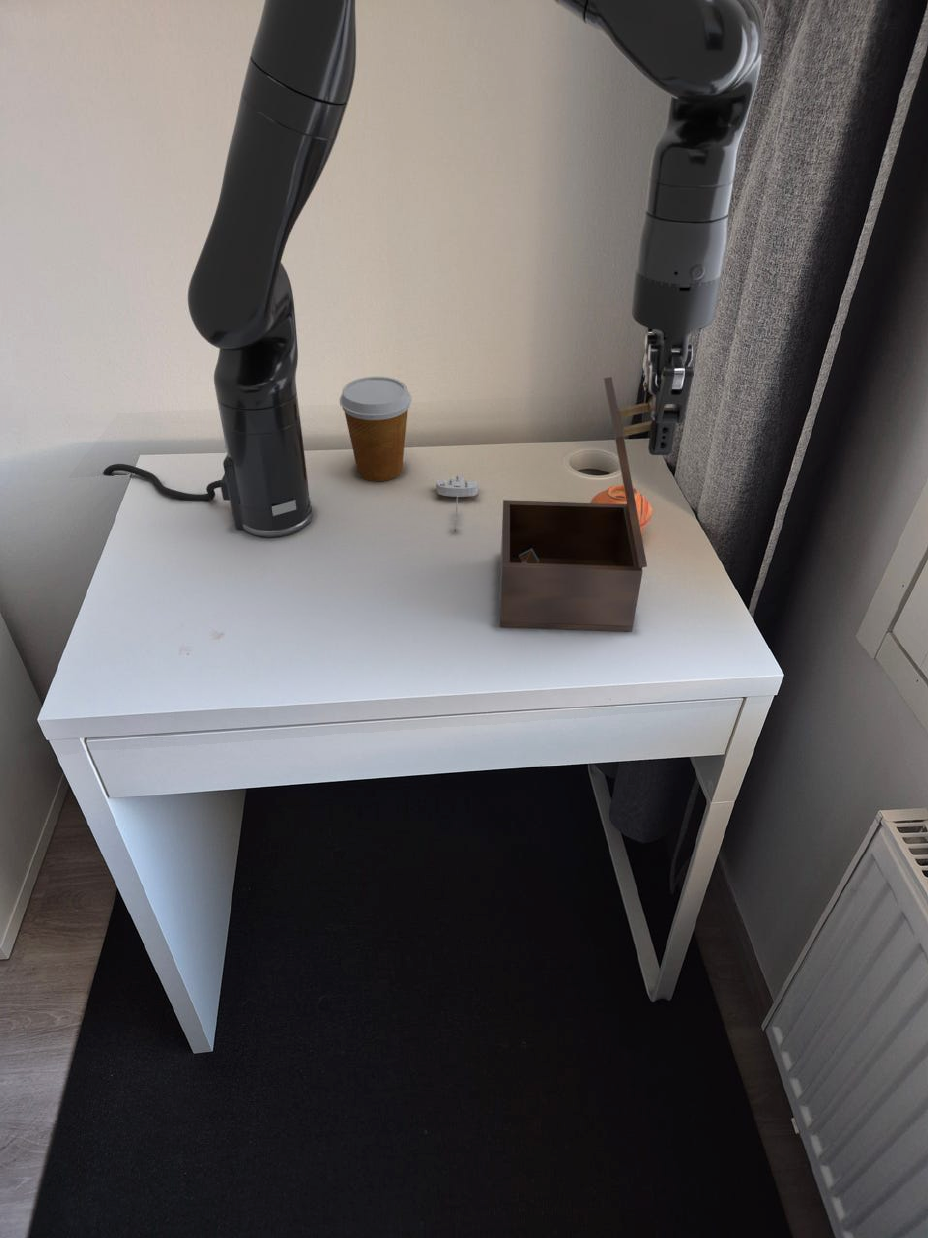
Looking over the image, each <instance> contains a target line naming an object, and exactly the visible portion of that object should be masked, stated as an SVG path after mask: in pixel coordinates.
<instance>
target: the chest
mask: <svg viewBox="0 0 928 1238" xmlns="http://www.w3.org/2000/svg"><path fill="white" fill-rule="evenodd" d="M501 516H502V518H501V539H500V574H499V575H500V577H499V626H498V627H500V628H513V629H514V628H515V629H517V628H518V629H519V628H520V629H547V630H548V629H549V630H575V631H577V630H578V631H601V632H602V631H603V632H604V631H606V632H633V628H634V623H635V617H636V612H637V606H638V601H639V596H640V595H639V593H640V590H641V589H640V588H641V583H642V578H643V577H642V576H643V572H644V571H643V567H642V568H639V563H638V558H637V552H636V547H635V542H634V537H633V532H632V527H631V521H630V516H629V511H628V506H627V504H610V503H590V502H576V501H575V502H573V501H543V500H542V501H539V500H507V499H503V500H502V515H501ZM530 549H533V551H534V553H535V555H536V556H537V558H538V560H539V562H538V563H521V559H520V557H519V555H520V554H522V553H524V552H526V551H528V550H530Z"/></svg>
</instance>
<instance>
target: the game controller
mask: <svg viewBox="0 0 928 1238" xmlns="http://www.w3.org/2000/svg"><path fill="white" fill-rule="evenodd" d="M479 488H480V481H478V480H471V481H465V480H464V477H463V476H460V475H456V476H455V477H453V478H452V479H449V481H446V480H445V479H437V480H436V493H437V495H439V496H443V497H453V498H456V504H455V505H456V506H455V519H454V533H456V531H457V518H458V503H459V502H458V501H459V498H467V497H475V496H477V495H478V493H479V491H480V489H479Z"/></svg>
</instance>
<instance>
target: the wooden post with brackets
mask: <svg viewBox="0 0 928 1238" xmlns="http://www.w3.org/2000/svg"><path fill="white" fill-rule="evenodd" d="M519 557H520V559H521V563H538V562H539V560H538V558H537V556H536V555H535V553H534V551H533V549H530V550H528V551H526V552H524V553H522V554H520V555H519Z"/></svg>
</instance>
